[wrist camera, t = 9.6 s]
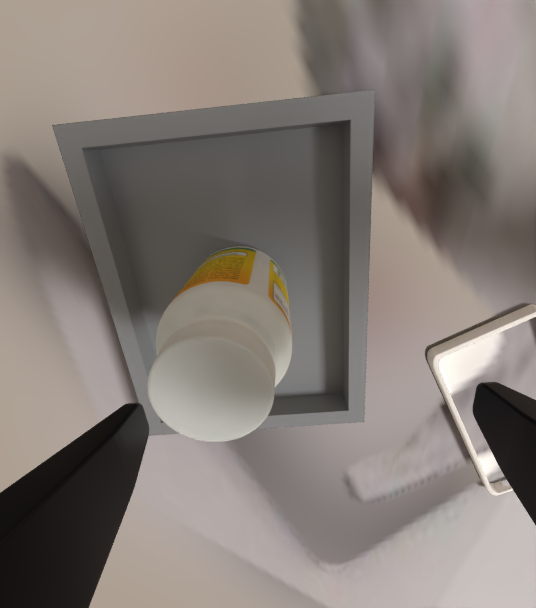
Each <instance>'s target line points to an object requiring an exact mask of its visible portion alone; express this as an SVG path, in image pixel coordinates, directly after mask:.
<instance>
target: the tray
mask: <svg viewBox="0 0 536 608" xmlns="http://www.w3.org/2000/svg"><path fill="white" fill-rule="evenodd" d="M374 104H375V90H368V91H359V92H349V93H340V94H331V95H322V96H313V97H304V98H295V99H286V100H278V101H268V102H259V103H249V104H240V105H231V106H223V107H213V108H204V109H195V110H186V111H177V112H167V113H158V114H150V115H140V116H131V117H122V118H113V119H104V120H95V121H85V122H76V123H67V124H58V125H52V126H53V129H54V132H55V136H56V139H57V142H58V145H59V149H60V152H61V155H62V158H63V161H64V164H65V167H66V171H67V174H68V177H69V180H70V184H71V187H72V190H73V193H74V196H75V200H76V203H77V206H78V209H79V212H80V216H81V219H82V222H83V225H84V229H85V232H86V235H87V238H88V241H89V245H90V248H91V251H92V254H93V257H94V261H95V264H96V267H97V270H98V273H99V277H100V280H101V283H102V286H103V289H104V293H105V296H106V299H107V302H108V305H109V309H110V312H111V315H112V318H113V321H114V325H115V328H116V331H117V334H118V337H119V341H120V344H121V347H122V350H123V353H124V357H125V360H126V363H127V366H128V369H129V373H130V376H131V379H132V382H133V385H134V389H135V392H136V395H137V398H138V401H139V403H140V404H142V406H143V408H144V411H145V414H146V417H147V421H148V424H149V436H150V435H166V434H180V433H178V432H176V431H174V430H173V429H172V428H170V427H169V426H168V425H167V424H166V423H164V422H163V421H162V420H161V418H160V417H159V416H158V415H157V413H156V412H155V410H154V409H153V407H152V405H151V402H150V400H149V396H148V388H147V384H148V375H149V372H150V369H151V366H152V364H153V362H154V361H155V359H156V357H157V351H156V333H157V328H158V325H159V322H160V319H161V317H162V315H163V313H164V312H165V310H166V309H167V307H168V306H169V304H170V303H171V302H172V300H173V299H174V298H175V297H176V295H177V294H178V293H179V292H180V291H181V289H182V288H183V287H184V286H185V284H186V283H187V282H188V281H189V279H190V278H191V277H192V276H193V274H194V273H195V272H196V270H197V269H198V268H199V267H200V265H201V264H202V263H203V262H204V261H205V260H206V259H207V258H208V257H209V256H210V255H212V254H213V253H215V252H217V251H219V250H222V249H225V248H229V247H237V246H246V247H251V248H254V249H257V250H260V251H262V252H264V253H265V254H267V255H268V256H269V257H271V258H272V259H273V260H274V261H275V262H276V263H277V264H278V266H279V267H280V269H281V270H282V272H283V274H284V277H285V280H286V284H287V290H288V299H289V311H290V319H291V330H292V355H291V360H290V364H289V367H288V369H287V371H286V373H285V375H284V377H283V378H282V379H281V381H280V382H279V383H278V384H277V386H276V387H275V393H274V401H273V405H272V408H271V410H270V413H269V414H268V416H267V417H266V419H265V420H264V421H263V423H262V424H261V425H260V426H258V427H257V428H256V429H261V428H277V427H293V426H309V425H324V424H339V423H356V422H364V414H365V413H364V412H365V383H366V352H367V321H368V290H369V288H368V287H369V257H370V228H371V196H372V166H373V135H374Z"/></svg>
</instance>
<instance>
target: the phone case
mask: <svg viewBox="0 0 536 608" xmlns="http://www.w3.org/2000/svg"><path fill="white" fill-rule="evenodd" d="M534 317H536V305H533V304H530V305H528V306H526V307H523V308H521V309H519V310H516V311H514V312H512V313H510V314H507V315H505V316H503V317H501V318H498V319H496V320H495V319H494V317H491V318H489V319H487V320H485V321H482V322H480V323H478V324H476V325H473V326H471V327H469V328H467V329H464V330H462V331H460V332H458V333H455V334H453V335H451V336H449V337H446V338H444V339H442V340H440V341H437V342H435V343H433V344H431V345H429V346H427V347H426V349H425V358H426V361H427V363H428V365H429V368H430V370H431V372H432V374H433V377H434V379H435V381H436V383H437V385H438V388H439V390H440V392H441V394H442V396H443V399H445V401H446V403H447V405H448V408H449V410H450V412H451V414H452V416H453V419H454V421H455V423H456V425H457V428H458V430H459V432H460V434H461V436H462V439H463V441H464V443H465V445H466V448H467V450H468V452H469V454H470V456H471V459H472V460H471V461H472V463H473V465H474V467H475V470H476V472H477V474H478V476H479V478H480V479H481V481H482V482H483V484H484V485H485V487H486V488H487V490H488V491H489V492H490V493H491V494H492V495H500V494H503V493H506V492H509V491H512V490H513V489H512V487H511V486H510V485H509V486H506V487H504V485H503V484H502V482H501V481H498V482H495V483H489V482H488V480H487V477H486V476H487V475H489V474H490V473H492V472H493V471H495V470H496V469H497V468H498V467H499V465H498V463H497V461H496V459H495V457H494V455H493V453H492V451H491V452H488V453H486V454H483V455H481V456H478V457H477V455H476V452H475V450H474V448H473V445H472V443H471V441H470V439H469V436H468V434H467V432H466V430H465V427H464V425H463V423H462V420H461V418H460V416H459V414H458V411H457V409H456V407H455V404H454V402H453V400H452V398H451V395H450V394H452V393H453V392H455V391H456V390H458V389H459V388H460V387H461V386H462V385H464V384H465V383H466V382H468V381H469V380H470V379H472V378H474V377H475V376H477V375H478V374H479V373H480V372H481V371H482V370H483V369H484V368H485V367H486V366H487V365H488V364H489V363H490V362H491V360H492V358H493V357H494V355H495V354H496V352H497V350H498V346H499V343H500V339H501V335H500V332H502V331H504V330H506V329H509V328H511V327H513V326H516V325H518V324H520V323H522V322H525V321H527V320H529V319H532V318H534Z"/></svg>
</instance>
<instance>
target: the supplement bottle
mask: <svg viewBox="0 0 536 608" xmlns="http://www.w3.org/2000/svg"><path fill="white" fill-rule="evenodd" d="M156 351H157V357H156V359H155V361H154V362H153V364H152V366H151V369H150V372H149V375H148V384H147V388H148V396H149V400H150V402H151V405H152V407H153V409H154V410H155V412H156V413H157V415H158V416H159V417H160V418H161V420H162V421H163V422H164V423H166V424H167V425H168V426H169V427H170V428H172V429H173V430H174V431H176V432H178V433H180V434H182V435H184V436H187V437H189V438H192V439H196V440H200V441H207V442H221V441H229V440H234V439H237V438H240V437H242V436H245V435H247V434H249V433H250V432H252V431H253V430H255V429H256V428H257V427H258V426H260V425H261V424H262V423H263V421H264V420H265V419H266V417H267V416H268V414H269V413H270V410H271V408H272V405H273V401H274V393H275V387H276V386H277V384H278V383H279V382H280V381H281V379H282V378H283V377H284V375H285V373H286V371H287V369H288V367H289V364H290V360H291V355H292V330H291V319H290V311H289V299H288V290H287V284H286V280H285V277H284V274H283V272H282V270H281V269H280V267H279V266H278V264H277V263H276V262H275V261H274V260H273V259H272V258H271V257H269V256H268V255H267V254H265V253H264V252H262V251H260V250H257V249H254V248H251V247H246V246H237V247H229V248H225V249H222V250H219V251H217V252H215V253H213V254H212V255H210V256H209V257H208V258H207V259H206V260H205V261H204V262H203V263H202V264H201V265H200V267H199V268H198V269H197V270H196V272H195V273H194V274H193V276H192V277H191V278H190V279H189V281H188V282H187V283H186V284H185V286H184V287H183V288H182V289H181V291H180V292H179V293H178V294H177V295H176V297H175V298H174V299H173V300H172V302H171V303H170V304H169V306H168V307H167V309H166V310H165V312H164V313H163V315H162V317H161V319H160V322H159V325H158V328H157V333H156Z"/></svg>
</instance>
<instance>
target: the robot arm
mask: <svg viewBox="0 0 536 608" xmlns="http://www.w3.org/2000/svg"><path fill="white" fill-rule="evenodd" d="M473 415H474V417H475V420H476V421H477V423H478V425H479V427H480V429H481V431H482V433H483V435H484V437H485V439H486V441H487V443H488V445H489V447H490V449H491V451H492V453H493V455H494V457H495V459H496V461H497V463H498V465H499V467H500V469H501V470H502V472H503V474H504V476H505V477H506V479H507V481H508V482H509V484H510V486H511V487H512V489H513V490H514V492H515V493H516V495H517V497H518V498H519V500H520V501H521V503H522V504H523V506H524V508H525V509H526V511H527V512H528V514H529V515H530V517H531V519H532V520H533V522H534V523H535V525H536V400H534V399H532V398H530V397H528V396H526V395H523V394H521V393H519V392H517V391H515V390H513V389H510V388H508V387H506V386H504V385H502V384H500V383H497V382H486V383H480V384H478V386H477V388H476V393H475V398H474V403H473ZM148 436H149V424H148V421H147V417H146V414H145V411H144V408H143V406H142V404H140V403H129V404H125V405H123V406H122V407H121V408H119V409H118V410H116V411H115V412H114V413H112V414H111V415H109V416H108V417H106V418H105V419H104V420H102V421H101V422H99V423H98V424H97V425H95V426H94V427H92V428H91V429H90V430H88V431H87V432H85V433H84V434H83V435H81V436H80V437H78V438H77V439H75V440H74V441H73V442H71V443H70V444H69V445H67V446H66V447H64V448H63V449H61V450H60V451H59V452H57V453H56V454H54V455H53V456H52V457H50V458H49V459H47V460H46V461H45V462H43V463H42V464H40V465H39V466H37V467H36V468H35V469H34V470H32V471H30V472H29V473H28V474H26V475H25V476H23V477H22V478H21V479H19V480H18V481H16V482H15V483H13V484H12V485H11V486H9V487H8V488H6V489H5V490H4V491H2V492H1V493H0V608H89V605H90V602H91V600H92V597H93V595H94V592H95V590H96V587H97V584H98V582H99V579H100V577H101V574H102V571H103V569H104V566H105V564H106V561H107V558H108V556H109V553H110V550H111V548H112V545H113V543H114V540H115V537H116V535H117V532H118V530H119V527H120V524H121V522H122V519H123V516H124V514H125V511H126V509H127V506H128V503H129V501H130V498H131V495H132V493H133V490H134V487H135V483H136V480H137V476H138V473H139V469H140V465H141V461H142V458H143V454H144V450H145V447H146V443H147V439H148Z"/></svg>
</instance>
